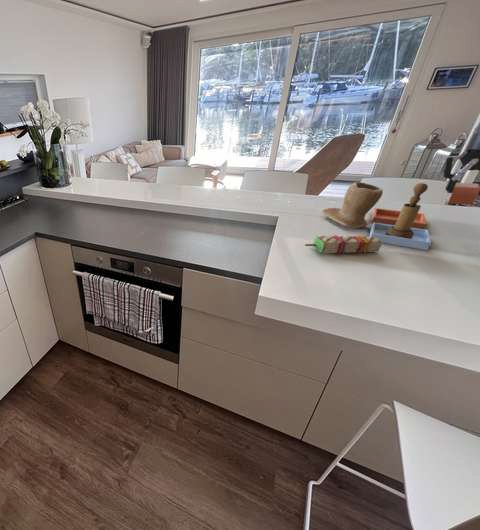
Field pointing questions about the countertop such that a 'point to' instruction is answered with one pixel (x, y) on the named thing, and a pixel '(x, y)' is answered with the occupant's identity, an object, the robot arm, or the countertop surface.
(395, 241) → the light blue tray
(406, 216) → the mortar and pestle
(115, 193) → the countertop surface
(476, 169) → the robot arm
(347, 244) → the skewer
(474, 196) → the terracotta block
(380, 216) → the terracotta tray
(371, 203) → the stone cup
